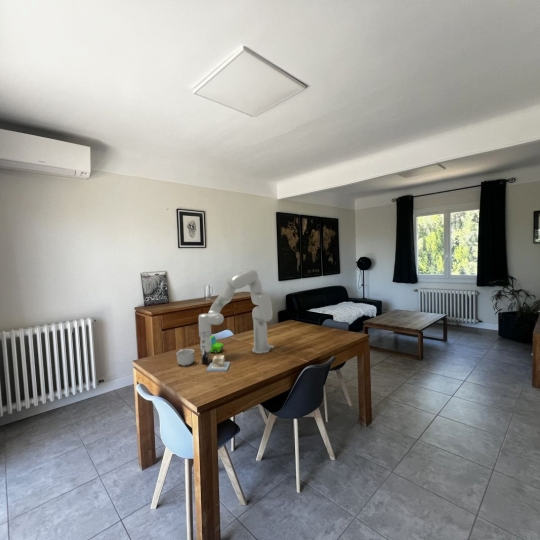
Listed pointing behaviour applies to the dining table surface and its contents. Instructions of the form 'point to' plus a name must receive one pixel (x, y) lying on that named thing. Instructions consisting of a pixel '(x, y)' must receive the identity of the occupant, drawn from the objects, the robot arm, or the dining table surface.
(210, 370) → the plate
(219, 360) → the block base
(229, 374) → the dining table surface
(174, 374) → the dining table surface
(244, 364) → the dining table surface
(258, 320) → the robot arm
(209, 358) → the block top
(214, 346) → the toy car
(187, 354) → the teacup
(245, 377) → the dining table surface
